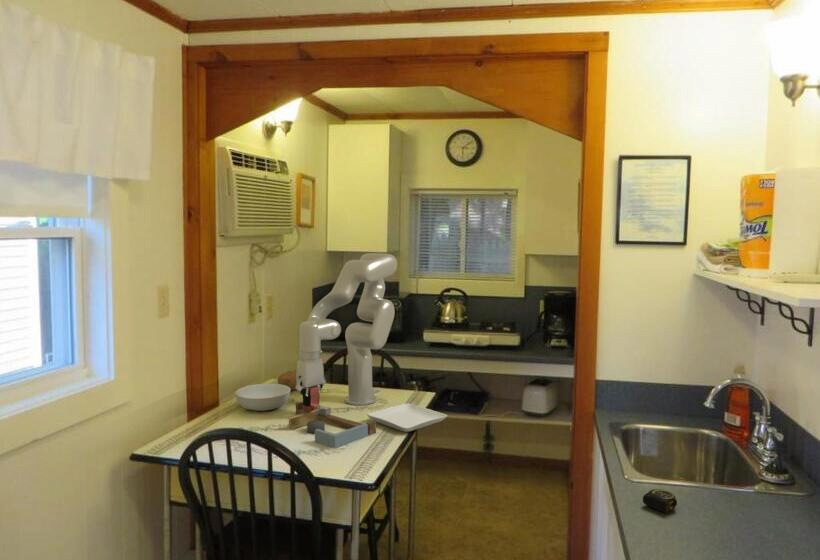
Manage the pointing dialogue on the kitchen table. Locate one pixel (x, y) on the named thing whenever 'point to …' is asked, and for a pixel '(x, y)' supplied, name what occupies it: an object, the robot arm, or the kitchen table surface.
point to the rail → (338, 420)
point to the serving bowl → (263, 396)
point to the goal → (341, 436)
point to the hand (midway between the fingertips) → (311, 403)
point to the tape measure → (660, 500)
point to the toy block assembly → (310, 410)
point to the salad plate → (406, 417)
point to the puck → (315, 426)
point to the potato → (288, 379)
